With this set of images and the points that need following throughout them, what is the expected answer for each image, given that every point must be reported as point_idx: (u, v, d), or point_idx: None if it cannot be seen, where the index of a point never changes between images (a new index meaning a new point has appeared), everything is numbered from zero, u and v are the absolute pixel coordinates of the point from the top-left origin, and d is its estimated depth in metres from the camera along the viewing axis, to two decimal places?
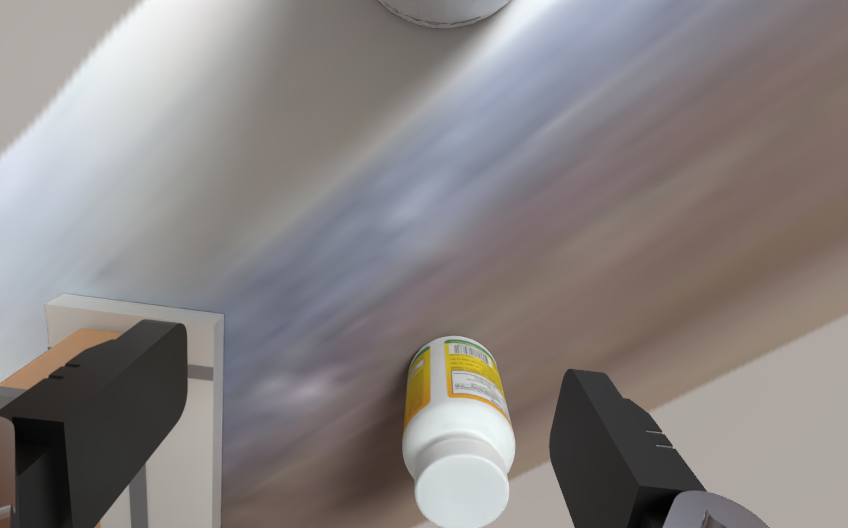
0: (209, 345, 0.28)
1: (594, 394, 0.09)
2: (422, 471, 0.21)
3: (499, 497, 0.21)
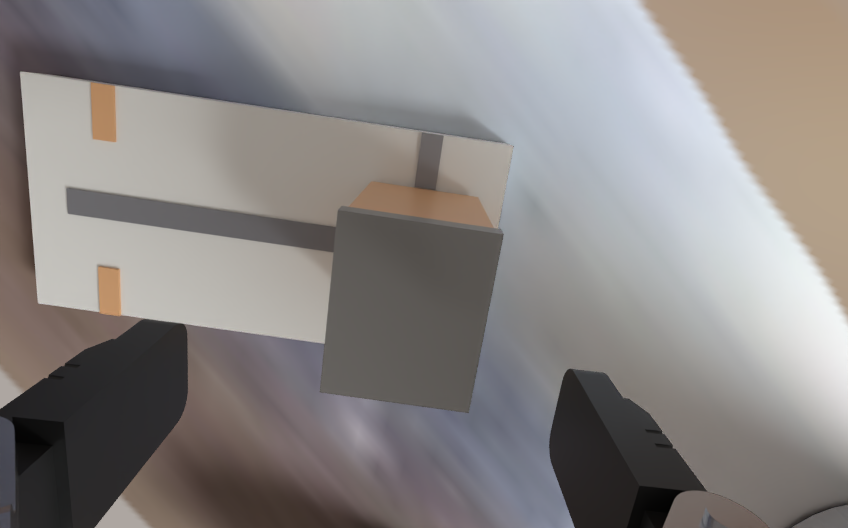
0: None
1: (594, 394, 0.09)
2: None
3: None
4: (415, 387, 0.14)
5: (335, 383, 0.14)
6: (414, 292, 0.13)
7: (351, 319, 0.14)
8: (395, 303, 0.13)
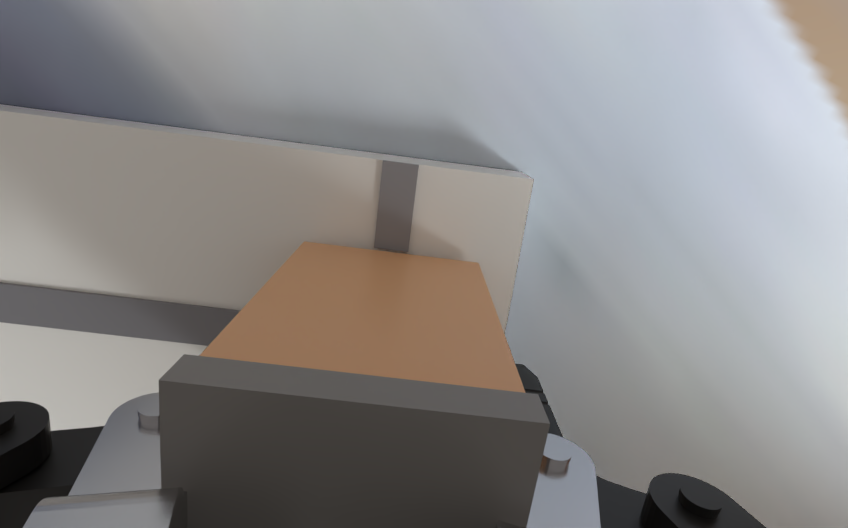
0: None
1: None
2: None
3: None
4: None
5: None
6: None
7: None
8: None
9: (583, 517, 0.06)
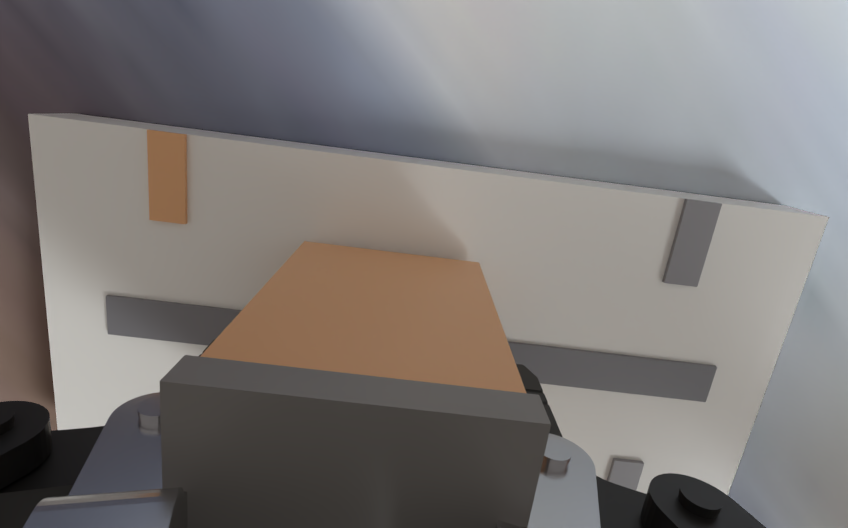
0: None
1: None
2: None
3: None
4: None
5: None
6: None
7: None
8: None
9: (583, 516, 0.06)
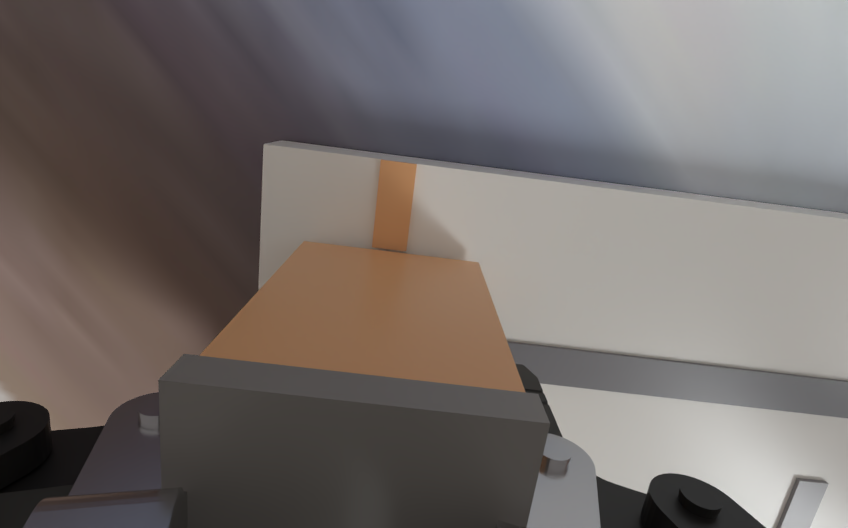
0: None
1: None
2: None
3: None
4: None
5: None
6: None
7: None
8: None
9: (584, 517, 0.06)
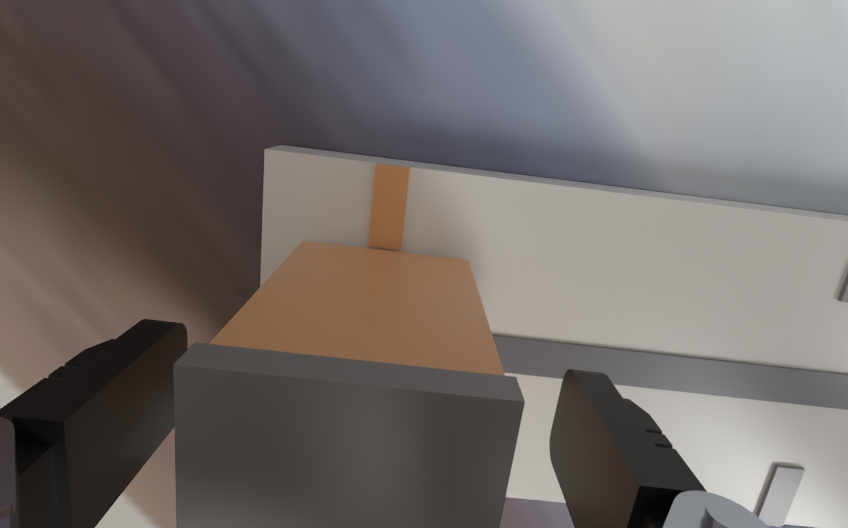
0: (825, 521, 0.15)
1: (594, 394, 0.09)
2: None
3: None
4: None
5: None
6: (347, 512, 0.07)
7: None
8: None
9: None
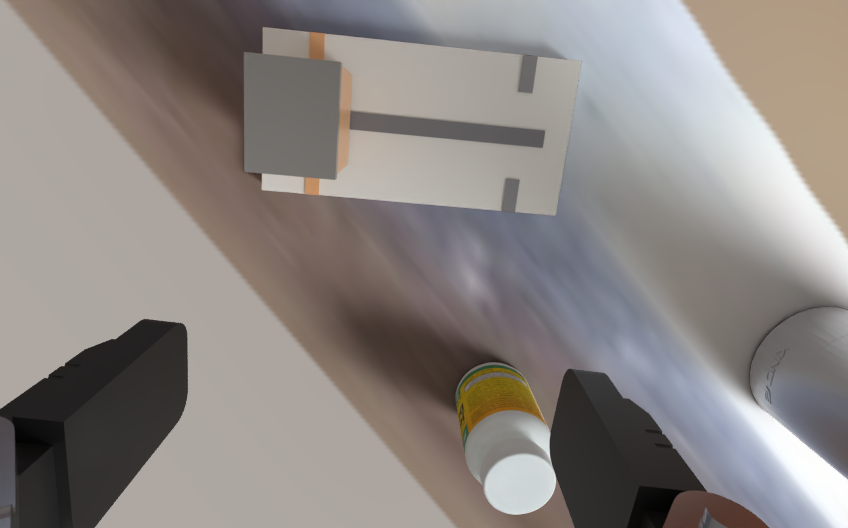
0: (536, 210, 0.32)
1: (594, 394, 0.09)
2: (539, 456, 0.27)
3: (517, 509, 0.28)
4: (301, 164, 0.24)
5: (253, 165, 0.24)
6: (293, 101, 0.23)
7: (258, 121, 0.23)
8: (283, 109, 0.23)
9: None
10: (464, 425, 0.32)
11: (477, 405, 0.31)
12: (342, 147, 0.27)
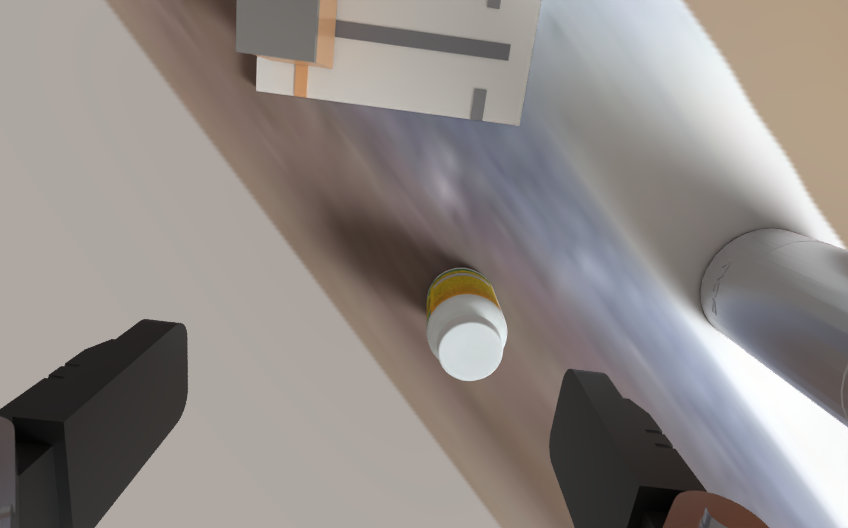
0: (501, 120, 0.35)
1: (594, 394, 0.09)
2: (488, 326, 0.31)
3: (468, 375, 0.31)
4: (284, 46, 0.27)
5: (243, 45, 0.27)
6: None
7: (248, 6, 0.27)
8: None
9: None
10: (428, 311, 0.35)
11: (441, 294, 0.35)
12: (324, 43, 0.30)
